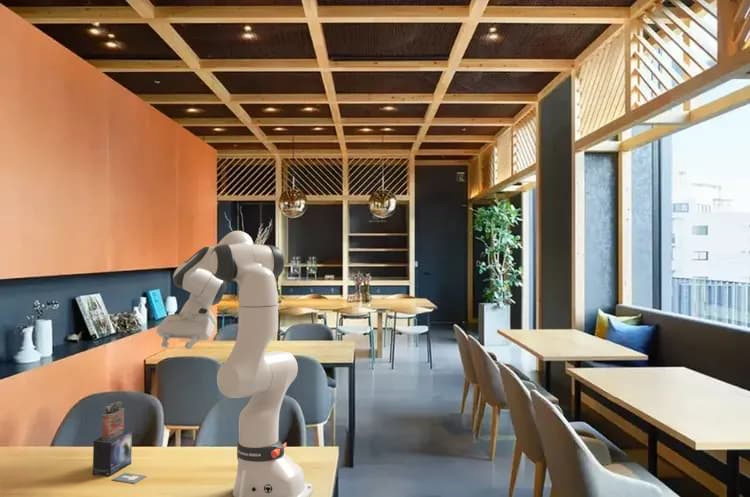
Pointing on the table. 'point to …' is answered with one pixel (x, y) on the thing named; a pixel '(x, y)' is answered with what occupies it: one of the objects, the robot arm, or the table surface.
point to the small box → (112, 454)
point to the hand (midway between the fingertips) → (175, 347)
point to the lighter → (113, 421)
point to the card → (129, 478)
